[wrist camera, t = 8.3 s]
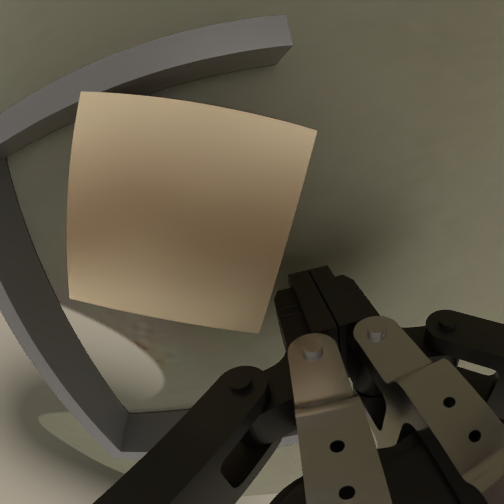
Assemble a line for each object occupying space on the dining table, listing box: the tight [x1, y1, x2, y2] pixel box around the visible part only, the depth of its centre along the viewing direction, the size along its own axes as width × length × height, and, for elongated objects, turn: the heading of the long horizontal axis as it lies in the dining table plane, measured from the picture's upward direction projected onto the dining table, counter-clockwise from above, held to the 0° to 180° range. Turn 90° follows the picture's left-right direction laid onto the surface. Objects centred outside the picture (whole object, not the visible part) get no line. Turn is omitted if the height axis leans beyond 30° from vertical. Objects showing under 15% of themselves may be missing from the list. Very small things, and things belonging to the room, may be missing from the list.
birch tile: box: [67, 91, 317, 334], centre depth 9 cm, size 6×6×4 cm
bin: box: [0, 14, 299, 460], centre depth 11 cm, size 18×13×3 cm
